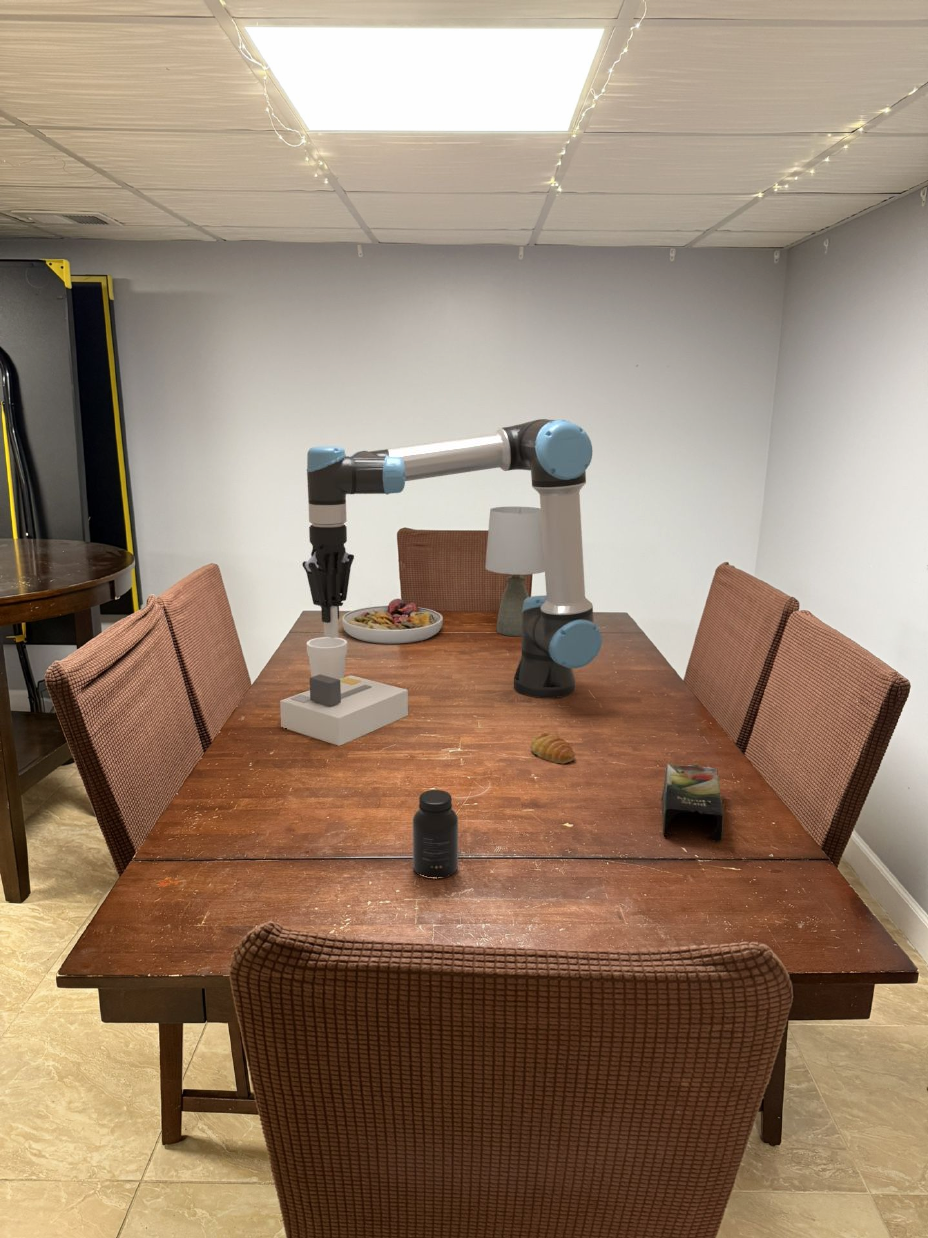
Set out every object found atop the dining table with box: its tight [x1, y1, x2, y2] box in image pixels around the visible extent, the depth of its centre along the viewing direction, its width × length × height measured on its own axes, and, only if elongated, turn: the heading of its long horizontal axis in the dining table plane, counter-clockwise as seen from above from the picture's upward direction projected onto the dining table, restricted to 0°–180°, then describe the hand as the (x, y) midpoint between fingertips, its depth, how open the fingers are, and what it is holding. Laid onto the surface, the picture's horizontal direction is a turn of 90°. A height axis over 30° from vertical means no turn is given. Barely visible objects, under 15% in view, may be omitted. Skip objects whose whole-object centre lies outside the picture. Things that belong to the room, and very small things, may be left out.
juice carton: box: [661, 763, 724, 842], centre depth 151 cm, size 20×10×6 cm, turn 168°
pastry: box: [530, 732, 576, 765], centre depth 175 cm, size 9×7×4 cm
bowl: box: [341, 598, 444, 645], centre depth 263 cm, size 30×30×8 cm
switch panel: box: [279, 674, 409, 747], centre depth 191 cm, size 17×22×6 cm
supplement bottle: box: [412, 789, 459, 878], centre depth 131 cm, size 7×7×12 cm
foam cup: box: [306, 636, 348, 679], centre depth 206 cm, size 10×9×13 cm
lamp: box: [484, 506, 545, 637], centre depth 261 cm, size 19×19×37 cm
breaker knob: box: [309, 674, 341, 706], centre depth 185 cm, size 6×3×5 cm, turn 54°
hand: (331, 636), depth 184 cm, fingers closed
